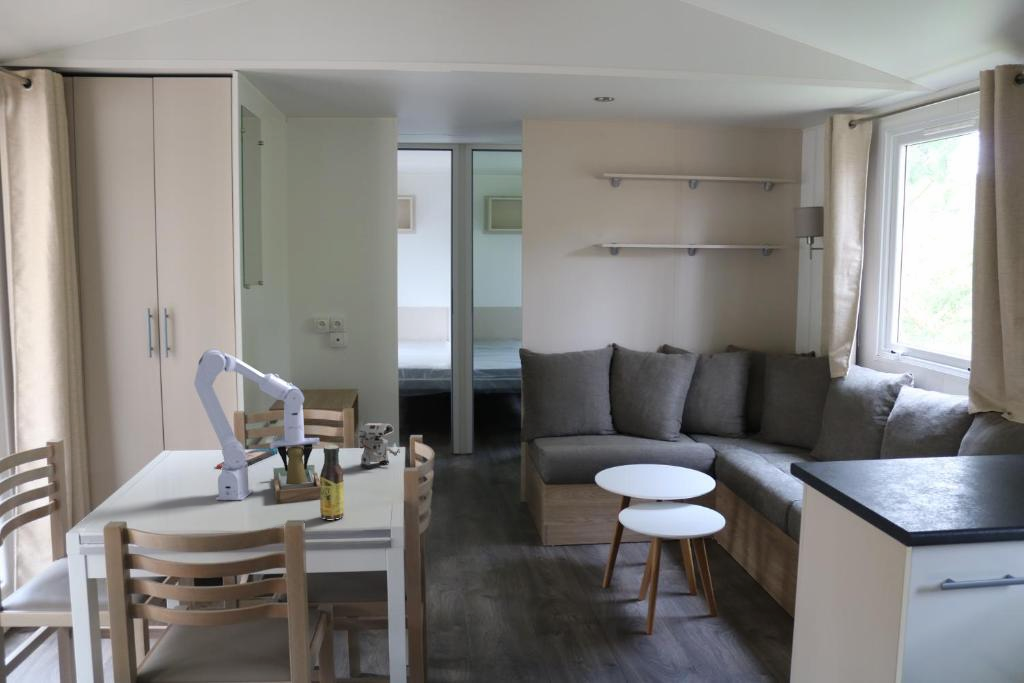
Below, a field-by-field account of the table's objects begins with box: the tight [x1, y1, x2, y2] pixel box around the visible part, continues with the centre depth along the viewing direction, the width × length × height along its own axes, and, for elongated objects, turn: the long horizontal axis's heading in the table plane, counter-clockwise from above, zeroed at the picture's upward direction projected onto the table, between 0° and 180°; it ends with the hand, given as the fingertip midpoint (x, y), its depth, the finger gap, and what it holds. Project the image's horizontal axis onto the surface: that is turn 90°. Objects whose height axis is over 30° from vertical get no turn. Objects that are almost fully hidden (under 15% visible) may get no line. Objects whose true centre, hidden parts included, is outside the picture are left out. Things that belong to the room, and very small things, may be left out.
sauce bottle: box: [319, 444, 345, 519], centre depth 213 cm, size 6×6×20 cm
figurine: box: [359, 422, 401, 470], centre depth 265 cm, size 9×12×15 cm
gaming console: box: [216, 447, 279, 469], centre depth 276 cm, size 24×3×10 cm
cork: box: [286, 446, 306, 484], centre depth 240 cm, size 6×6×11 cm
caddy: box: [273, 472, 320, 504], centre depth 237 cm, size 17×13×4 cm
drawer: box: [272, 463, 316, 490], centre depth 246 cm, size 19×13×3 cm, turn 19°
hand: (295, 469), depth 242 cm, fingers closed on cork, 5 cm apart
